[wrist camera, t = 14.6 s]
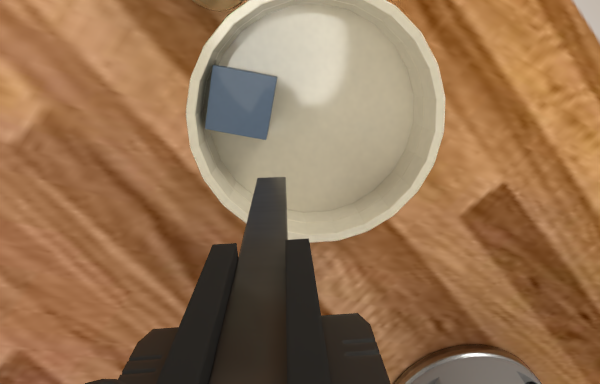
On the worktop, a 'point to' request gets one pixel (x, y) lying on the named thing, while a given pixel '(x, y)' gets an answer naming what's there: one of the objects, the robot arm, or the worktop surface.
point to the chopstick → (257, 296)
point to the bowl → (324, 112)
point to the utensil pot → (218, 4)
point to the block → (240, 102)
